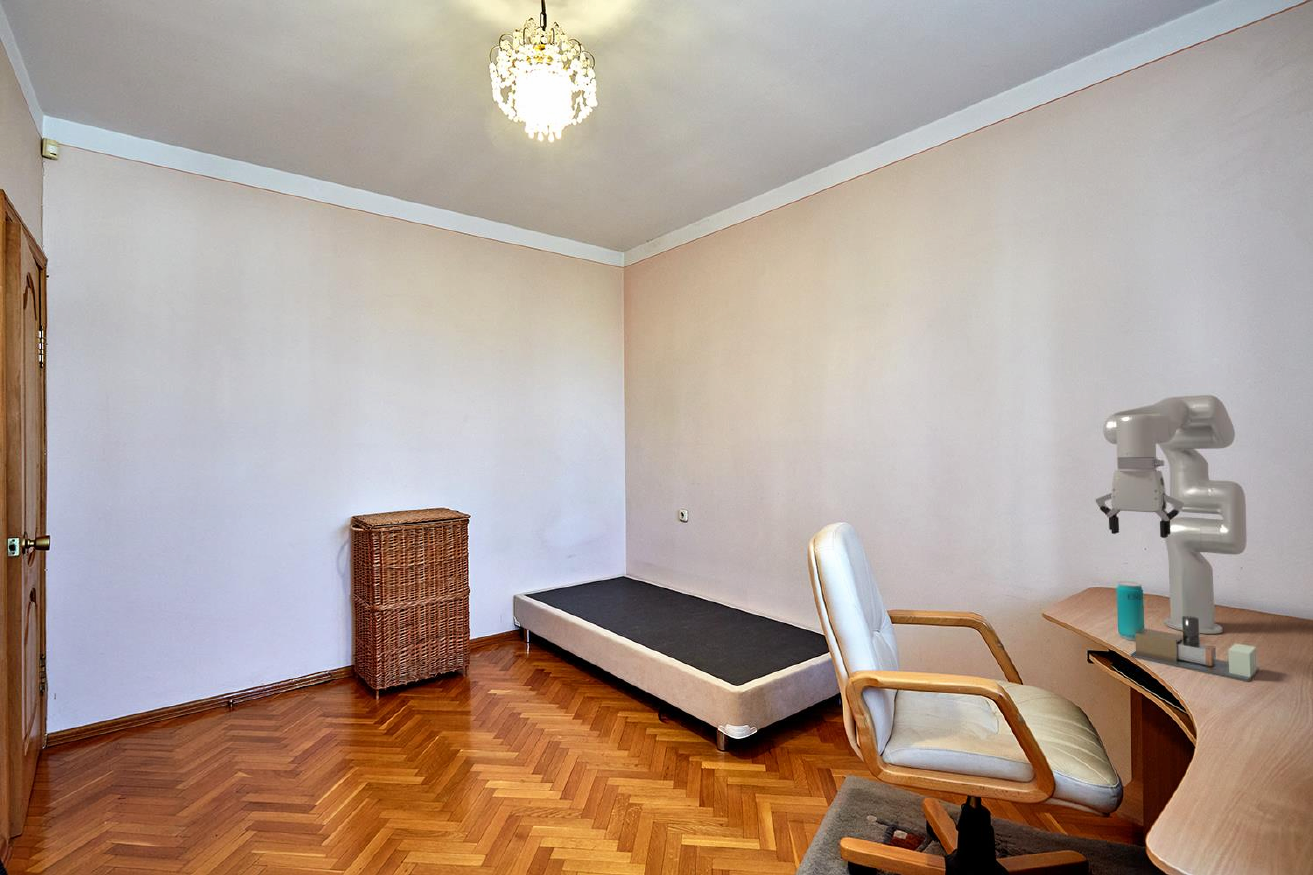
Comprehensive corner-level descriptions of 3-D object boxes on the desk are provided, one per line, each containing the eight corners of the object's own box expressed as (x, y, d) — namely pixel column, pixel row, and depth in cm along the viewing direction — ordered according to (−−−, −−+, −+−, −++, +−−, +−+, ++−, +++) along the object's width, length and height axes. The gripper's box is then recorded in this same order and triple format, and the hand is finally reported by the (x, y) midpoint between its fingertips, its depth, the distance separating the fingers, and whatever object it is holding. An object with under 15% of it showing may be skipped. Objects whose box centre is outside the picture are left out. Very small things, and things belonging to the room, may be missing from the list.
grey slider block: (1143, 647, 157) (1142, 608, 157) (1215, 661, 146) (1214, 619, 146) (1138, 650, 154) (1136, 610, 155) (1211, 665, 143) (1210, 622, 144)
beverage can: (1149, 642, 164) (1147, 586, 164) (1125, 641, 165) (1123, 585, 165) (1137, 635, 169) (1135, 581, 170) (1113, 634, 171) (1112, 580, 171)
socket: (1236, 665, 144) (1235, 643, 144) (1256, 669, 141) (1255, 646, 141) (1229, 672, 140) (1228, 649, 140) (1250, 677, 137) (1249, 653, 137)
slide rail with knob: (1144, 647, 160) (1143, 625, 160) (1258, 670, 142) (1257, 646, 143) (1130, 656, 153) (1129, 634, 153) (1248, 681, 136) (1247, 656, 136)
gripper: (1186, 464, 144) (1189, 537, 144) (1100, 464, 158) (1102, 530, 158) (1177, 465, 140) (1180, 540, 139) (1089, 465, 154) (1091, 533, 153)
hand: (1139, 535), depth 149 cm, fingers open, 9 cm apart
